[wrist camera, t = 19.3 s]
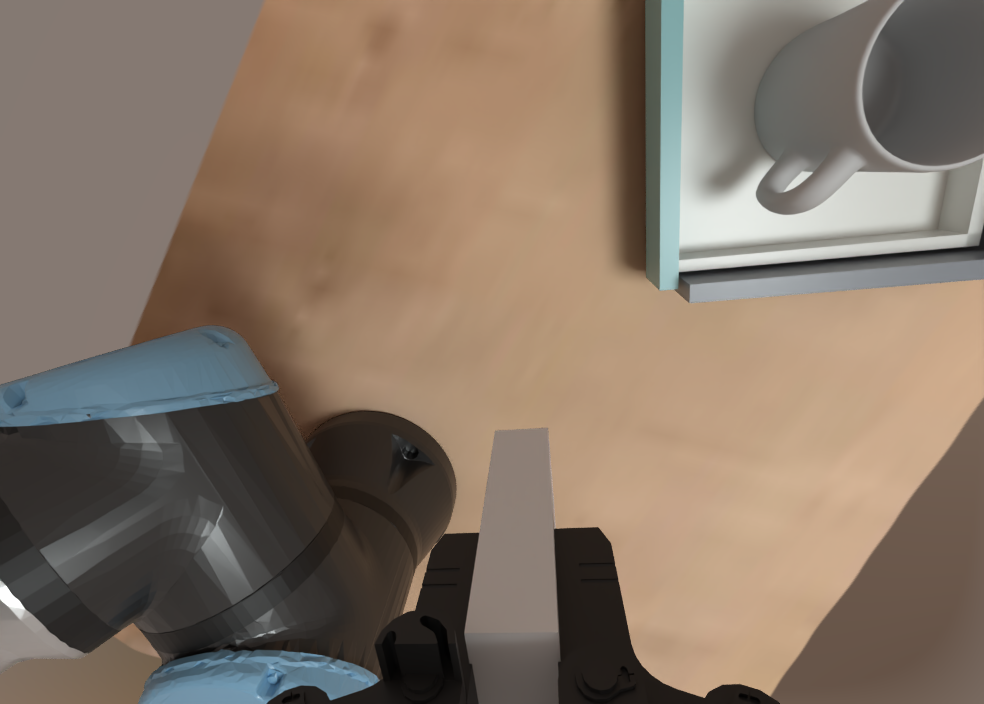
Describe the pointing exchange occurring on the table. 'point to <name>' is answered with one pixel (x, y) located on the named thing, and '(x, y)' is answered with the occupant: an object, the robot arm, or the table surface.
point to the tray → (764, 154)
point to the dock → (834, 274)
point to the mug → (872, 98)
